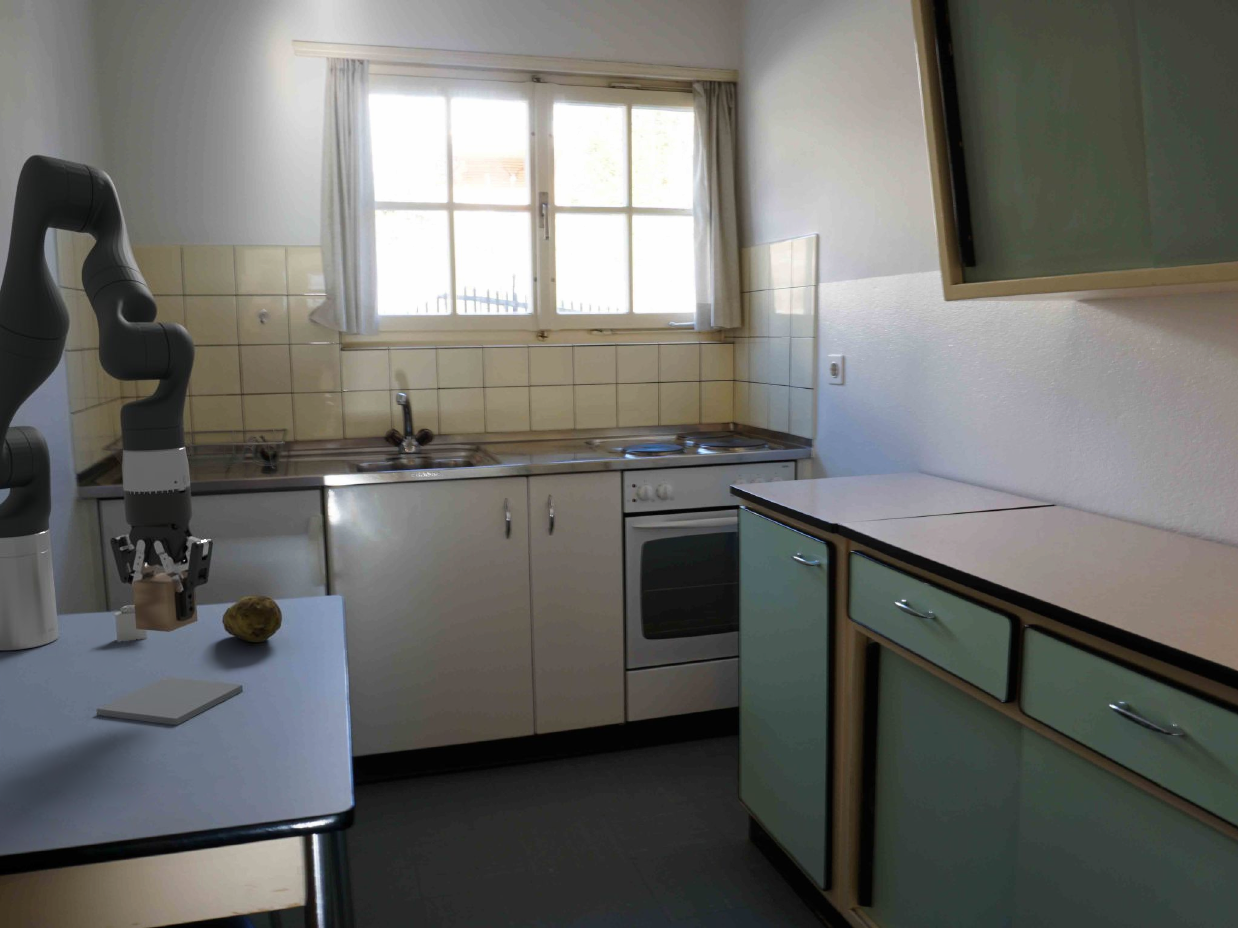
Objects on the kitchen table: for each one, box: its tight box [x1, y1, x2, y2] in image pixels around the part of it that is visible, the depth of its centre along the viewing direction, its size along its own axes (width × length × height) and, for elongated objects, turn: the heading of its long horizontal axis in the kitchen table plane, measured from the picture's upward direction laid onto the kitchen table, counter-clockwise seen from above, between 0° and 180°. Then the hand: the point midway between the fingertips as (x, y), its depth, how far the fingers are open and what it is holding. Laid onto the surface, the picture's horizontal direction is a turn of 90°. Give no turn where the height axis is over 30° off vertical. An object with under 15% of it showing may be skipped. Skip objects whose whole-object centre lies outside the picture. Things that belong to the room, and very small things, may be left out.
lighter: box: [115, 604, 148, 643], centre depth 153 cm, size 7×2×8 cm, turn 118°
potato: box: [221, 595, 283, 643], centre depth 149 cm, size 8×13×8 cm, turn 23°
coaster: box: [96, 676, 244, 726], centre depth 125 cm, size 12×12×1 cm
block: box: [132, 572, 198, 633], centre depth 123 cm, size 5×5×6 cm
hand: (166, 617), depth 124 cm, fingers closed on block, 5 cm apart
